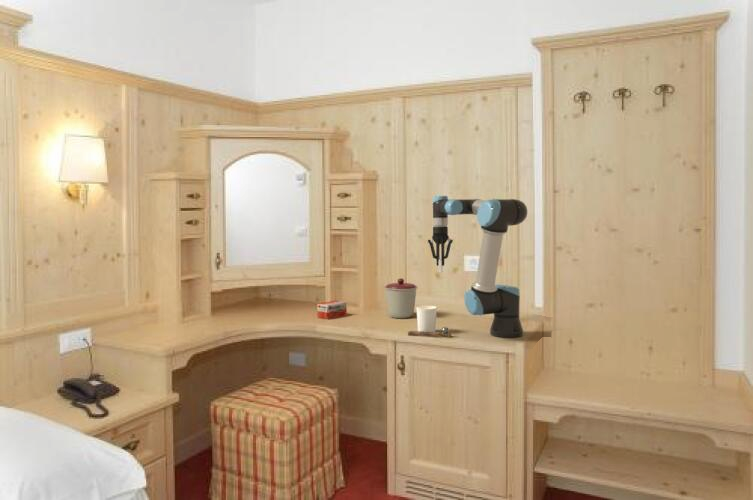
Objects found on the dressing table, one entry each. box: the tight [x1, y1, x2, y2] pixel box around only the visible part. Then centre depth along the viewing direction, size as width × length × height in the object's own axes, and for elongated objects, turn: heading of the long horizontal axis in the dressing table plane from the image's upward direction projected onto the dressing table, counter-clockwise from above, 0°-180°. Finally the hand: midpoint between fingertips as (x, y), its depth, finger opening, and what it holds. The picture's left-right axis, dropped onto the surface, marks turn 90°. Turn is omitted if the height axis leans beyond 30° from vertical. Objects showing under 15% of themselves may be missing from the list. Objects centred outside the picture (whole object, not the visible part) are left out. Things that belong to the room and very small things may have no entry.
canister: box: [383, 278, 418, 319], centre depth 340 cm, size 18×18×21 cm
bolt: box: [441, 326, 449, 334], centre depth 290 cm, size 3×3×2 cm
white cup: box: [415, 305, 438, 332], centre depth 301 cm, size 10×10×12 cm
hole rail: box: [407, 330, 452, 339], centre depth 293 cm, size 20×4×2 cm, turn 74°
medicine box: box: [316, 300, 347, 320], centre depth 343 cm, size 15×8×8 cm, turn 139°
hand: (440, 272), depth 321 cm, fingers closed
